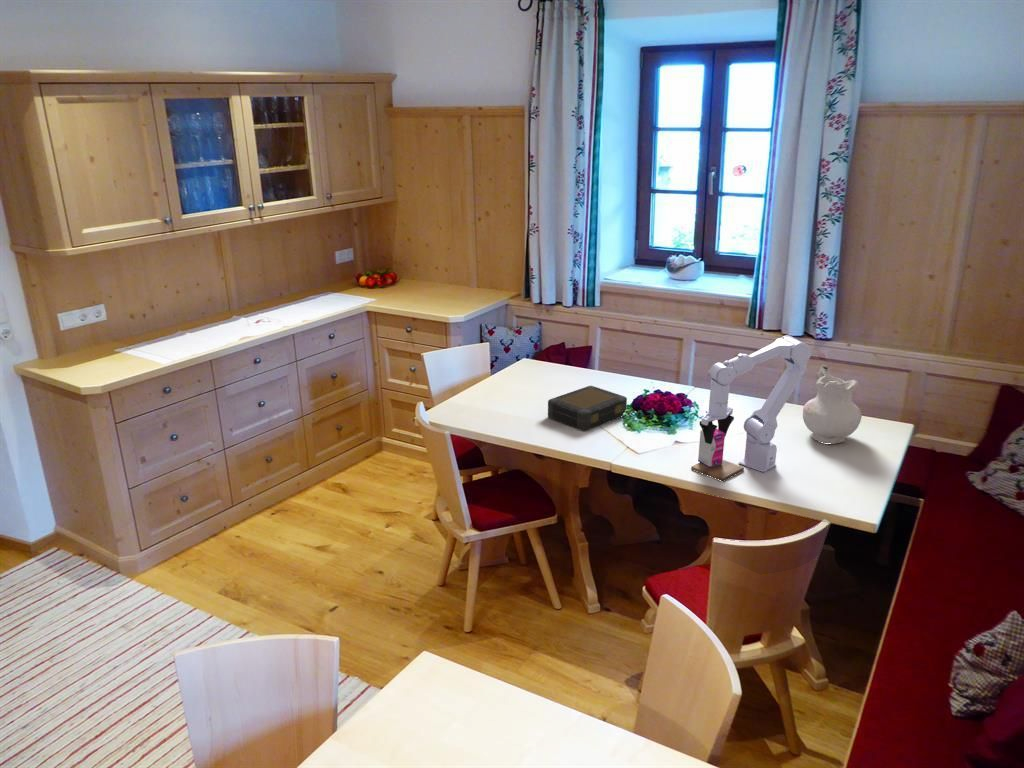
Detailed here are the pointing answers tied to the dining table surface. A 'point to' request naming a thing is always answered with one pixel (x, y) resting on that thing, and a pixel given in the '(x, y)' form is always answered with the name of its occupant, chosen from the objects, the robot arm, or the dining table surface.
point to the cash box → (586, 408)
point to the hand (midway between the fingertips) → (715, 439)
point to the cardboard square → (719, 470)
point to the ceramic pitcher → (832, 409)
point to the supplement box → (711, 449)
